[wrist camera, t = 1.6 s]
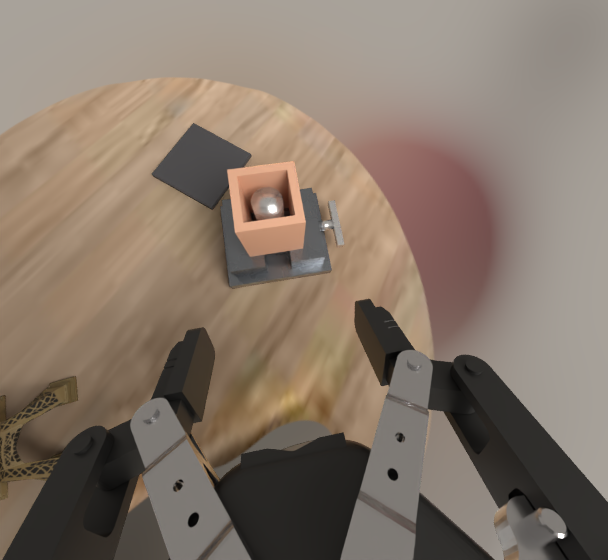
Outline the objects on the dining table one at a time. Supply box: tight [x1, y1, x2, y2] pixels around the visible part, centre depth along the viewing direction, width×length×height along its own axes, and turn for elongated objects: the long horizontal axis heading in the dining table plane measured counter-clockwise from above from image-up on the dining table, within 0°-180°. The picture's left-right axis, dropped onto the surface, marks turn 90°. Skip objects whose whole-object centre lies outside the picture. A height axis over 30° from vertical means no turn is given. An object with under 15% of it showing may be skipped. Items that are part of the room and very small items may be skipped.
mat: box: [152, 123, 251, 210], centre depth 34 cm, size 10×10×1 cm
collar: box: [227, 161, 306, 257], centre depth 25 cm, size 6×6×7 cm
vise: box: [220, 187, 344, 289], centre depth 28 cm, size 15×11×10 cm
